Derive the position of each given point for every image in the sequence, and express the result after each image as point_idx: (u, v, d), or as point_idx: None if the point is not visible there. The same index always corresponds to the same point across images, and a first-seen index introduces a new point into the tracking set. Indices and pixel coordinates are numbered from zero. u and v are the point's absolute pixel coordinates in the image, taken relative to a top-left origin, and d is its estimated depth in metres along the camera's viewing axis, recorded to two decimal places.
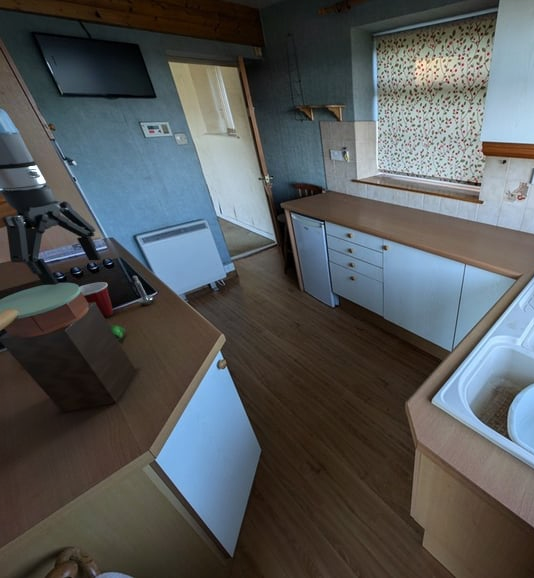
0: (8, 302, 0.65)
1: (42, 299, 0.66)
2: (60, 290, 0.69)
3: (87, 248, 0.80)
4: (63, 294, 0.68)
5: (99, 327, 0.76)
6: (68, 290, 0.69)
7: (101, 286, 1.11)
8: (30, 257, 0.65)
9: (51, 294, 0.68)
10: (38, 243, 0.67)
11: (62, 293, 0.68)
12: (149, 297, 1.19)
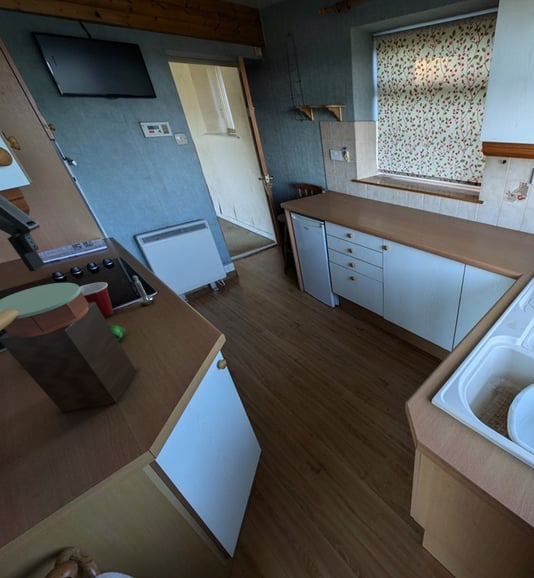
0: (8, 302, 0.65)
1: (42, 299, 0.66)
2: (60, 290, 0.69)
3: None
4: (63, 294, 0.68)
5: (99, 327, 0.76)
6: (68, 290, 0.69)
7: (101, 286, 1.11)
8: None
9: (51, 294, 0.68)
10: None
11: (62, 293, 0.68)
12: (149, 297, 1.19)
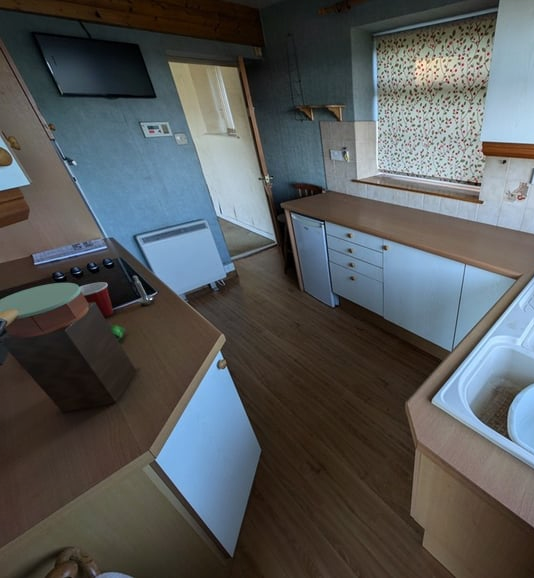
0: (8, 302, 0.65)
1: (42, 299, 0.66)
2: (60, 290, 0.69)
3: None
4: (63, 294, 0.68)
5: (99, 327, 0.76)
6: (68, 290, 0.69)
7: (101, 286, 1.11)
8: None
9: (51, 294, 0.68)
10: None
11: (62, 293, 0.68)
12: (149, 297, 1.19)
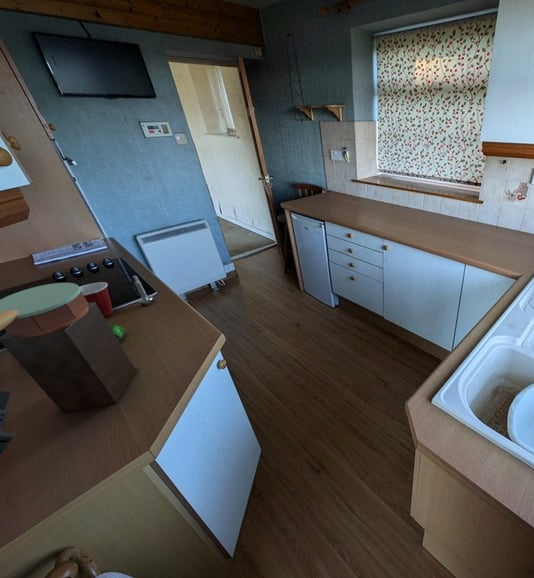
0: (8, 302, 0.65)
1: (42, 299, 0.66)
2: (60, 290, 0.69)
3: None
4: (63, 294, 0.68)
5: (99, 327, 0.76)
6: (68, 290, 0.69)
7: (101, 286, 1.11)
8: None
9: (51, 294, 0.68)
10: None
11: (62, 293, 0.68)
12: (149, 297, 1.19)
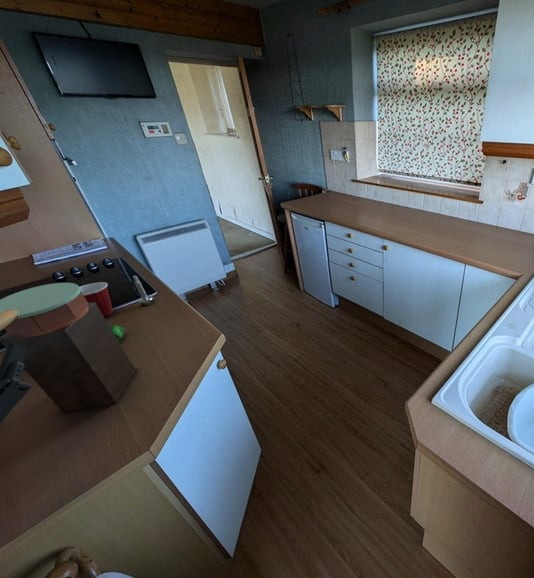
0: (8, 302, 0.65)
1: (42, 299, 0.66)
2: (60, 290, 0.69)
3: None
4: (63, 294, 0.68)
5: (99, 327, 0.76)
6: (68, 290, 0.69)
7: (101, 286, 1.11)
8: None
9: (51, 294, 0.68)
10: None
11: (62, 293, 0.68)
12: (149, 297, 1.19)
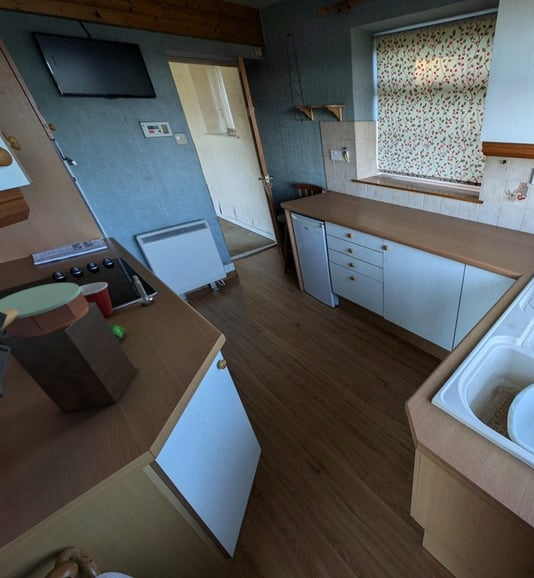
0: (8, 302, 0.65)
1: (42, 299, 0.66)
2: (60, 290, 0.69)
3: None
4: (63, 294, 0.68)
5: (99, 327, 0.76)
6: (68, 290, 0.69)
7: (101, 286, 1.11)
8: None
9: (51, 294, 0.68)
10: None
11: (62, 293, 0.68)
12: (149, 297, 1.19)
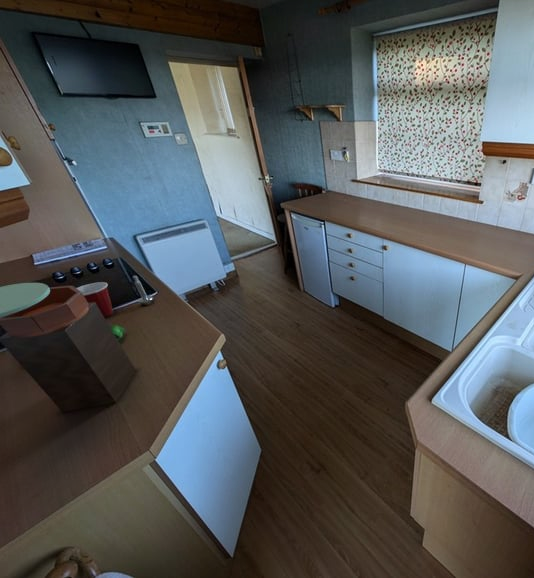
0: None
1: (3, 301, 0.58)
2: (26, 291, 0.61)
3: None
4: (28, 296, 0.60)
5: (99, 327, 0.76)
6: (35, 291, 0.61)
7: (101, 286, 1.11)
8: None
9: (15, 295, 0.60)
10: None
11: (27, 294, 0.60)
12: (149, 297, 1.19)
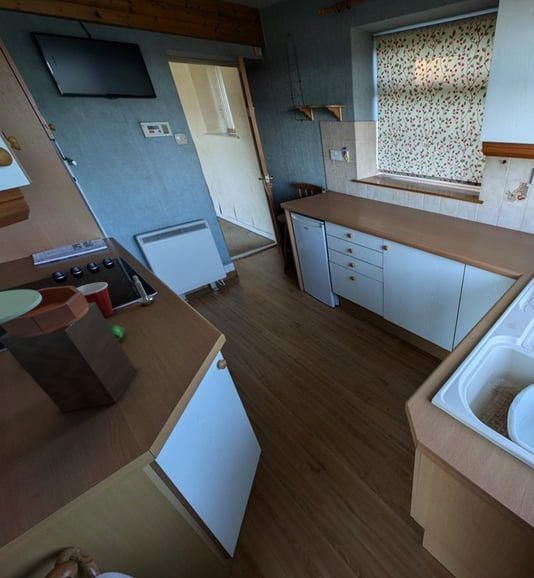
0: None
1: None
2: (17, 299, 0.59)
3: None
4: (19, 304, 0.58)
5: (99, 327, 0.76)
6: (26, 299, 0.59)
7: (101, 286, 1.11)
8: None
9: (5, 303, 0.58)
10: None
11: (18, 302, 0.58)
12: (149, 297, 1.19)
